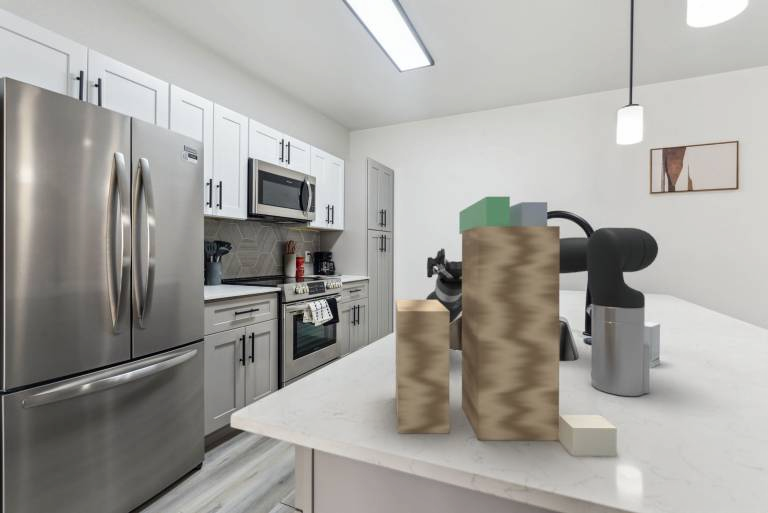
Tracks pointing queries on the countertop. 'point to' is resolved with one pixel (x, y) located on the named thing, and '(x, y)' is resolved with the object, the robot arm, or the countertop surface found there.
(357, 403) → the countertop surface
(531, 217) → the slate-blue brick
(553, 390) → the oak shelf block
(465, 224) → the green bar
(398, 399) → the oak ledge
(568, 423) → the cream brick
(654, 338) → the skincare box
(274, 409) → the countertop surface
